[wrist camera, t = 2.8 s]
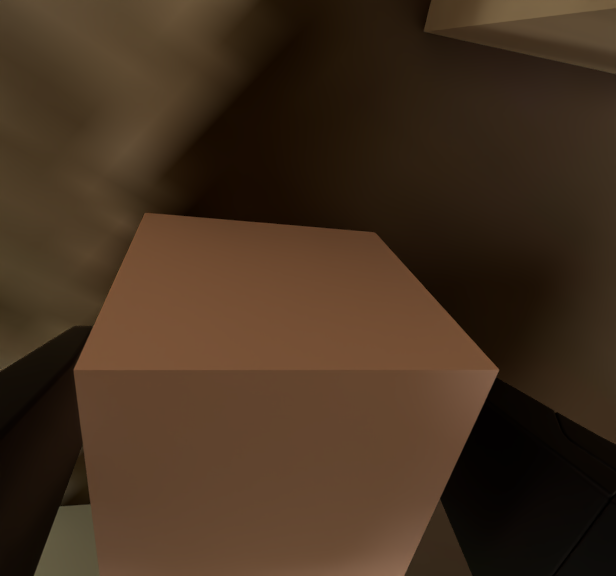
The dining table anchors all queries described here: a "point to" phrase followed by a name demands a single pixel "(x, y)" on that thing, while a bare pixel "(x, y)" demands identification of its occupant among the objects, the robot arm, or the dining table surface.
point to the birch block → (533, 28)
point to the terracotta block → (269, 403)
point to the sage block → (70, 544)
